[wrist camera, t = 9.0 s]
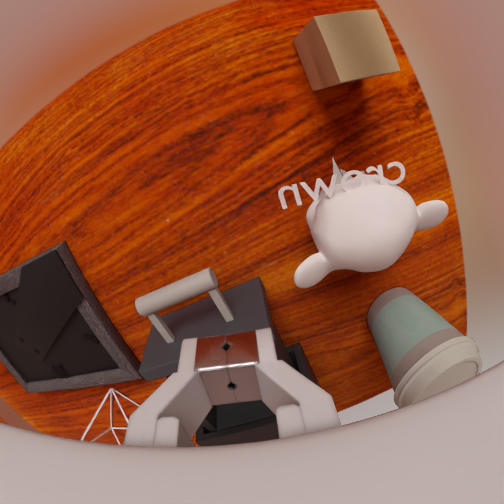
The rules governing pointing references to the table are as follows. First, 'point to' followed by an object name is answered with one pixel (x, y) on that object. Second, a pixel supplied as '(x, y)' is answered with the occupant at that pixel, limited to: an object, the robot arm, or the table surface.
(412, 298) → the coffee cup
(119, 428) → the geometric polyhedron
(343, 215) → the figurine
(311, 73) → the block
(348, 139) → the table surface
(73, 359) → the picture frame
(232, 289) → the open drawer with handle
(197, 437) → the dark grey box
